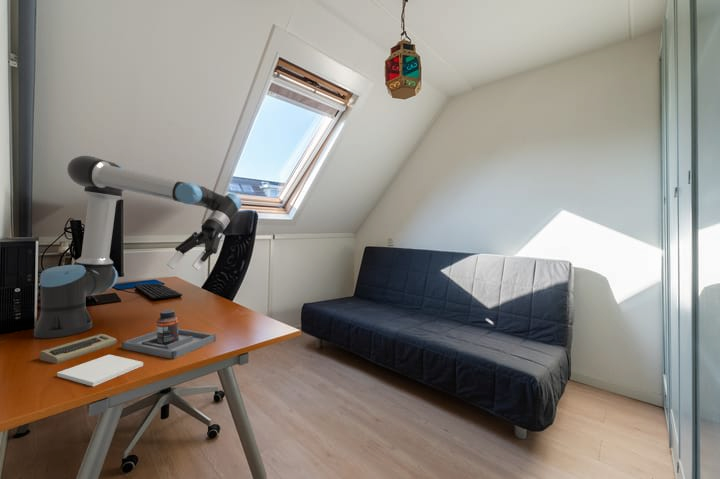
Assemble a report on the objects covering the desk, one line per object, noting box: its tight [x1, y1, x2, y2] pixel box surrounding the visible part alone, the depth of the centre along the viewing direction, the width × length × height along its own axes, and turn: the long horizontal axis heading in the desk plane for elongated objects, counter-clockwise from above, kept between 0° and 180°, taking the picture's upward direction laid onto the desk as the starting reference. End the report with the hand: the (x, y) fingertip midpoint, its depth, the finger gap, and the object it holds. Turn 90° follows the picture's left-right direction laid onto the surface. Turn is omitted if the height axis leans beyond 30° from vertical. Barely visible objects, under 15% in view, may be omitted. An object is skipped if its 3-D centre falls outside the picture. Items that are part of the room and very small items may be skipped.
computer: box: [38, 333, 118, 365], centre depth 93 cm, size 16×8×3 cm, turn 162°
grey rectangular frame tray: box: [121, 328, 217, 360], centre depth 100 cm, size 22×16×2 cm
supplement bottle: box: [156, 309, 179, 345], centre depth 99 cm, size 6×6×11 cm
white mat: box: [56, 354, 144, 387], centre depth 81 cm, size 14×12×1 cm
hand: (182, 267), depth 109 cm, fingers open, 13 cm apart
